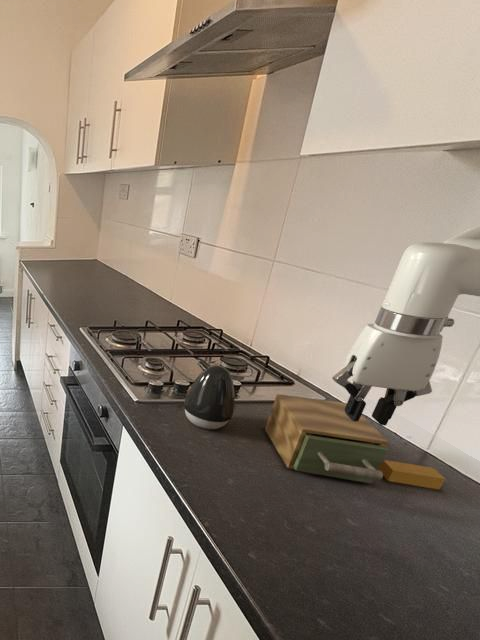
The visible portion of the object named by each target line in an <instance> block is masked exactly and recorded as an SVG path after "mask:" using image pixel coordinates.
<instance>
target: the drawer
mask: <svg viewBox="0 0 480 640" xmlns="http://www.w3.org/2000/svg"><path fill="white" fill-rule="evenodd" d="M374 444H375V443H371V442H365V441H358V440H351V439H345V438H338V437H331V436H325V435H318V434H312V433H306V435H305V437H304V440H303V442H302V445H301V447H300V450H299V453H298V455H297V458H296V460H295V464H294V468H295V469H294V470H295V471H296V472H302V473H309V474H315V475H320V476H325V477H331V478H337V479H342V480H343V479H344V480H349V481H355V482H360V483H364V484H365V483H366V484H373V482H374V480H379V481H380V480H382V479H383V477H384V476H383V473H382V471H380V470H379V468H380V466H381V464H382V462H383V460H385V457H386V455H387V453H388V451H389V450H388V448H387V447H386V448H385V447H384V446H377V445H374Z"/></svg>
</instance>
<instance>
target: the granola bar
mask: <svg viewBox="0 0 480 640" xmlns="http://www.w3.org/2000/svg"><path fill="white" fill-rule="evenodd" d="M379 470H380V471H382V473H383V477H384V478H385V480H386V481H388V482H391V483H397V484H404V485H410V486H416V487H420V488H421V487H422V488H427V489H433V490H440V489H441V487H442V486H443V484H444V482H445V481H446V478H445V477H444V476H443V475H442V474H441V473H440V472H439V471H438V470H436V469H435V467H431V466H425V465H417V464H413V463H412V464H411V463H405V462H399V461H392V460H386V459H383V462H382V464H381V466H380V468H379Z"/></svg>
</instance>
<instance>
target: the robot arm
mask: <svg viewBox="0 0 480 640" xmlns="http://www.w3.org/2000/svg"><path fill="white" fill-rule="evenodd" d="M461 295H468V296H474V297H480V223H479V224H477V225H475V226H473V227H471V228H469V229H466V230H464V231H461V232H460V233H457V234H456V235H453V236H452V237H450V238H448V239H446V240H444V241H443V242H433V241H432V242H431V241H430V242H429V241H428V242H417V243H413V244H411V245H409V246H408V247H407V248H406V249H405V250H404V252H403V254H402V256H401V258H400V261H399V263H398V265H397V268H396V270H395V273H394V275H393V277H392V280H391V282H390V284H389V288H388V289H387V292H386V294H385V297H384V298H383V301H382V304H381V307H380V309H379V311H378V313H377V316H376V319H375V320H374V323H367V324H366V325H365V326H364V327H363V329H362V330H361V332H360V333H359V335H358V336H357V338H356V340H354V342H353V344H352V345H351V348H350V349H349V352H348V353H347V356H346V358H345V359H344V361H343V364H342V366H341V369H340V371H338V372H336V374H334V375H332V378H331V379H332V380H333V381H334V382H335V383H336V384H338V385H339V386H341V387H342V388H344V390H346V391H347V393H348V394H349V397H348V400H347V402H346V403H347V404H346V407H345V413H346V415H347V416H348V417H349V418H350V419H351V420H352V421H356V422H357V421H359V419H360V417H361V415H362V416H363V412H364V410H365V408H366V406H367V402H366V401H365V398H366V397H367V395H368V394H369V392H370V391H371V389H372V387H373V388H374V387H375V388H383V389H386V391H385V393H384V397H382V396H381V397H380V398H379V399H378V400H377V403H376V405H375V407H374V409H373V412H372V413H371V417H372V419H374V421H376V422H377V423H378V424H379V425H380V426H387V425H388V423H389V420H391V419H392V417H393V415H394V413H395V411H396V409H397V407H401V406H403V405H404V403H405V402H407V401H409V400H412V399H414V398H415V397H421V396H426V395H429V394H431V393H432V392H433V389H432V386H431V379H432V376H433V374H434V372H435V369H436V366H437V364H438V362H439V358H440V355H441V351H442V345H443V338H444V337H443V335H442V334H441V333H442V332H443V329H444V328H446V327H447V328H452V327H453V326H454V325H455V319H454V318H451V317H450V318H449V315H450V313H451V311H452V309H453V307H454V305H455V303H456V302H457V301H456V300H457V298H458V297H459V296H461ZM350 378H351V380H352V382H351V381H349V379H350Z"/></svg>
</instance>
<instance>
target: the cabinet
mask: <svg viewBox="0 0 480 640" xmlns="http://www.w3.org/2000/svg"><path fill="white" fill-rule="evenodd" d="M346 404H347V402H342V401H333V400H326V399H318V398H310V397H303V396H295V395H288V394H280V393H277V394H276V396H275V398H274V401H273V404H272V408H271V410H270V413H269V417H268V419H267V423H266V425H265V428H264V431H265V432H266V434H267V436H268V438H269V439H270V441H271V443H272V444H273V446H274V447H275V449H276V451H277V453H278V454H279V456H280V458H281V459H282V461H283V463H284V464H285V466H286V468H287V469H289V470H290V469H291V470H295V468H294V464H295V460H296V458H297V455H298V453H299V450H300V447H301V445H302V442H303V440H304V437H305V435H306V433H312V434H318V435H325V436H331V437H338V438H345V439H351V440H358V441H365V442H371V443H375V444H374V445H377V446H384V447H385V448H386V449H387V445H388V444H389V440H388V439H387V438H386V437H385V436H384V435H382V434H381V432H380V431H378V430H377V428H376V427H374V426H373V425H372V423H370V421H368V420H367V418H365V417H364V416H363V414H362V415H361V417H360V419H359V421H357V422H356V421H352V420H351V419H350V418H349V417H348V416H347V415H346V413H345V407H346Z"/></svg>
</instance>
